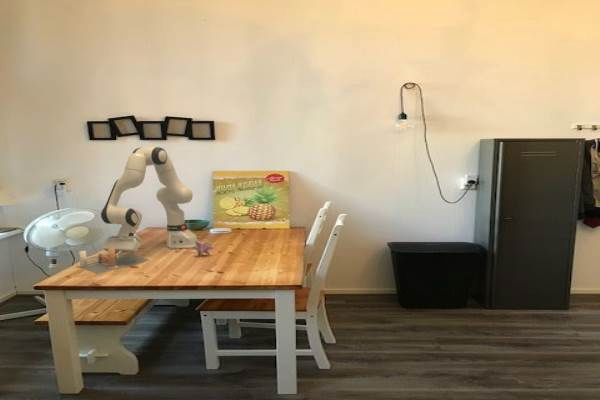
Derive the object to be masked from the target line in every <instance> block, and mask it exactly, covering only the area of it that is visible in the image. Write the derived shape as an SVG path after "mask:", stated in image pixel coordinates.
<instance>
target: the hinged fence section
mask: <svg viewBox="0 0 600 400" xmlns="http://www.w3.org/2000/svg"><path fill="white" fill-rule="evenodd" d="M107 252H108V253H107V254H108V256H107V255H103V254H102V255H100V257H101V258H102V260H101V262H103V263H105V264H108V265H109V266H110V267H115V266H116V258H115V248H114V247H111V248H108V251H107ZM108 260H109V261H108Z"/></svg>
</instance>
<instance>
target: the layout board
mask: <svg viewBox="0 0 600 400" xmlns="http://www.w3.org/2000/svg"><path fill="white" fill-rule="evenodd" d="M108 261H109V260H108ZM147 262H150V259H148V258H146V257H145V258H144V257H141V256H137V255H135V254H132V253H130V254H126V255H121V256H119V259H116V266H115V267H110V266H109V265H108V264H105V263H99V262H97V263H92V264H88V265H87V267H83V268H81V265H80V266H78V267H79V268H81V269H83V270H85V271H88V272H91V273H94V274H95V275H99V274H104V273H108V272H111V271H115V270H119V269H121V268H122V269H123V268H126V267H130V266H135V265H138V264H142V263H147Z"/></svg>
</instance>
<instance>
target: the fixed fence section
mask: <svg viewBox="0 0 600 400" xmlns="http://www.w3.org/2000/svg"><path fill="white" fill-rule="evenodd" d="M78 253H79V254H78V255H79V264H80V266H81V269H83V267H87V265H88V264H92V263H97V262H99V263H103V262H101V260H102V259H103V258H101V257H100V255H103V254H102V253H99V254H96V255H91V256H87V250H80V251H78ZM93 259H95V260H93ZM89 260H90V261H89Z"/></svg>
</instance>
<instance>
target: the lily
mask: <svg viewBox="0 0 600 400" xmlns="http://www.w3.org/2000/svg"><path fill="white" fill-rule="evenodd" d="M197 241H198V240H197ZM197 241H195V244H196V247H193V248H191V250H194V251H197V255H202V254H203V253H204V254H206V255H209V256H210V252H209V251H210V250H213V249H215V247H214V246H211V245H208V243H207V242H203V243H202V242H201V243H199V242H200V241H199V242H197Z"/></svg>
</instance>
